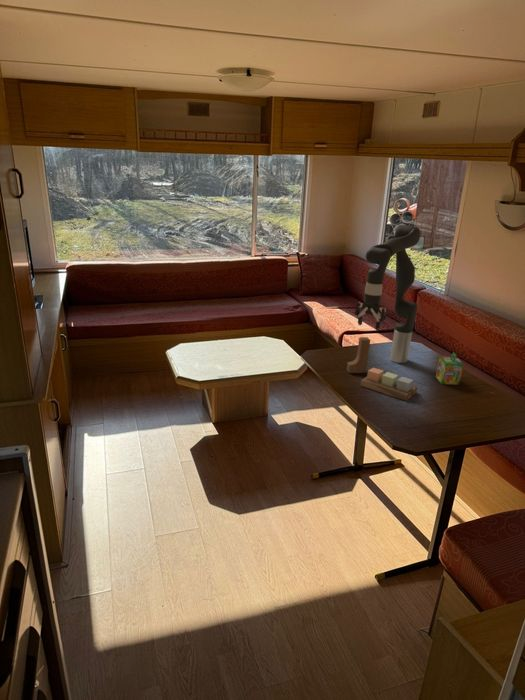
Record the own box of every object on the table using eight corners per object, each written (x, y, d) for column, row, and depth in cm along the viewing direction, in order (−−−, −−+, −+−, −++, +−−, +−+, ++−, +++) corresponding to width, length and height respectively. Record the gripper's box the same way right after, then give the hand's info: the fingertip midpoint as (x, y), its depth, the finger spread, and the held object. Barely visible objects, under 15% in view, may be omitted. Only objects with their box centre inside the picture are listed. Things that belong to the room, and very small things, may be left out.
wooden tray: (372, 378, 247) (372, 372, 246) (416, 392, 234) (417, 386, 233) (360, 385, 238) (361, 379, 237) (406, 400, 225) (407, 394, 224)
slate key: (400, 386, 234) (402, 376, 233) (411, 389, 231) (413, 379, 230) (395, 389, 230) (397, 379, 229) (407, 393, 227) (408, 383, 225)
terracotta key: (371, 376, 243) (373, 367, 241) (382, 380, 240) (383, 370, 238) (366, 380, 239) (368, 370, 237) (377, 383, 236) (378, 373, 234)
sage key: (386, 381, 239) (387, 371, 237) (396, 384, 236) (398, 375, 234) (381, 384, 235) (382, 375, 233) (391, 388, 231) (393, 378, 230)
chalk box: (434, 377, 253) (440, 350, 248) (452, 377, 254) (458, 350, 248) (441, 384, 245) (446, 356, 239) (459, 385, 245) (465, 357, 240)
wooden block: (348, 373, 251) (353, 339, 245) (346, 369, 255) (350, 336, 249) (365, 373, 252) (370, 340, 246) (363, 369, 257) (367, 337, 250)
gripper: (391, 294, 222) (386, 328, 228) (362, 288, 230) (358, 321, 236) (384, 297, 217) (379, 332, 222) (355, 291, 224) (350, 325, 230)
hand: (368, 326), depth 229 cm, fingers open, 8 cm apart
